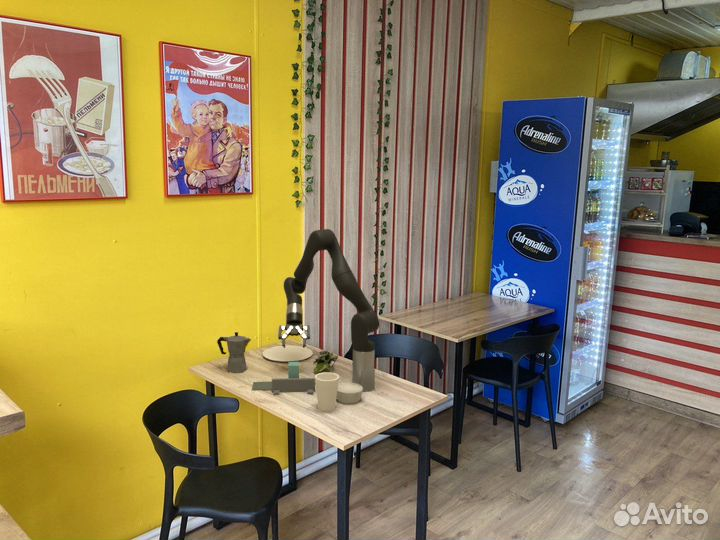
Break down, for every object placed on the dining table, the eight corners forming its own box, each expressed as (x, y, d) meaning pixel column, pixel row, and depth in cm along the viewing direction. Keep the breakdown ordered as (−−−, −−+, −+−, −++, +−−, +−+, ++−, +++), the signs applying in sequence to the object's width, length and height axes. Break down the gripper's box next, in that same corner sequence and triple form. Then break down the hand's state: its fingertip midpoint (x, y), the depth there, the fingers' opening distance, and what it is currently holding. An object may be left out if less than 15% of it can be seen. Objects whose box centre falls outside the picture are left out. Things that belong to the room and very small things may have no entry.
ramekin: (367, 398, 230) (368, 386, 229) (352, 407, 220) (352, 395, 219) (345, 392, 236) (345, 380, 235) (329, 400, 227) (329, 388, 226)
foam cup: (309, 407, 219) (310, 376, 217) (327, 401, 226) (328, 370, 223) (325, 415, 213) (326, 382, 210) (343, 408, 219) (344, 377, 217)
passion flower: (323, 379, 264) (333, 356, 268) (336, 382, 255) (346, 358, 259) (305, 369, 258) (315, 346, 262) (317, 372, 250) (328, 347, 254)
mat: (274, 382, 244) (274, 381, 244) (273, 390, 236) (273, 389, 235) (253, 382, 243) (253, 381, 243) (251, 390, 235) (251, 389, 234)
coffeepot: (252, 366, 263) (252, 329, 260) (249, 373, 254) (249, 335, 251) (220, 366, 263) (219, 329, 260) (215, 373, 254) (214, 334, 250)
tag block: (299, 383, 243) (299, 361, 242) (299, 388, 239) (299, 365, 237) (288, 384, 243) (288, 362, 241) (288, 388, 238) (288, 365, 236)
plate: (295, 345, 298) (295, 342, 298) (322, 357, 279) (322, 354, 279) (253, 353, 282) (253, 350, 282) (279, 367, 263) (279, 364, 263)
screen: (315, 390, 237) (315, 377, 236) (315, 394, 232) (315, 381, 231) (272, 391, 235) (272, 378, 234) (271, 395, 230) (271, 382, 229)
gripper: (278, 311, 254) (277, 343, 245) (310, 311, 255) (310, 343, 246) (279, 319, 260) (278, 351, 251) (309, 319, 262) (310, 350, 252)
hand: (294, 347), depth 249 cm, fingers open, 8 cm apart
